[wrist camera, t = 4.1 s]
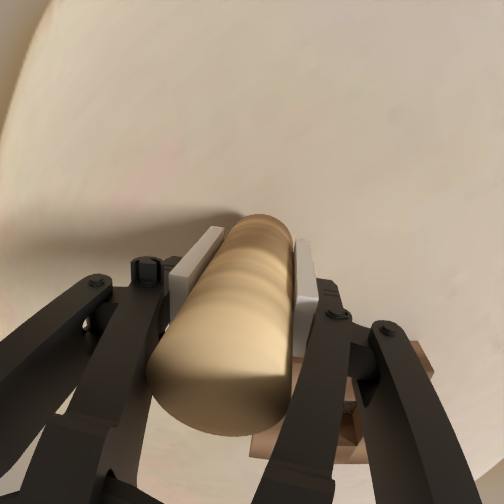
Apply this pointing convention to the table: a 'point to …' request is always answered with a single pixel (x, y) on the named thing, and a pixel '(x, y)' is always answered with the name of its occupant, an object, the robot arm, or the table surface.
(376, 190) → the table surface
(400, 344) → the robot arm
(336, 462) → the walnut socket
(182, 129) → the table surface
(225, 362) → the oak peg
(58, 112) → the table surface
